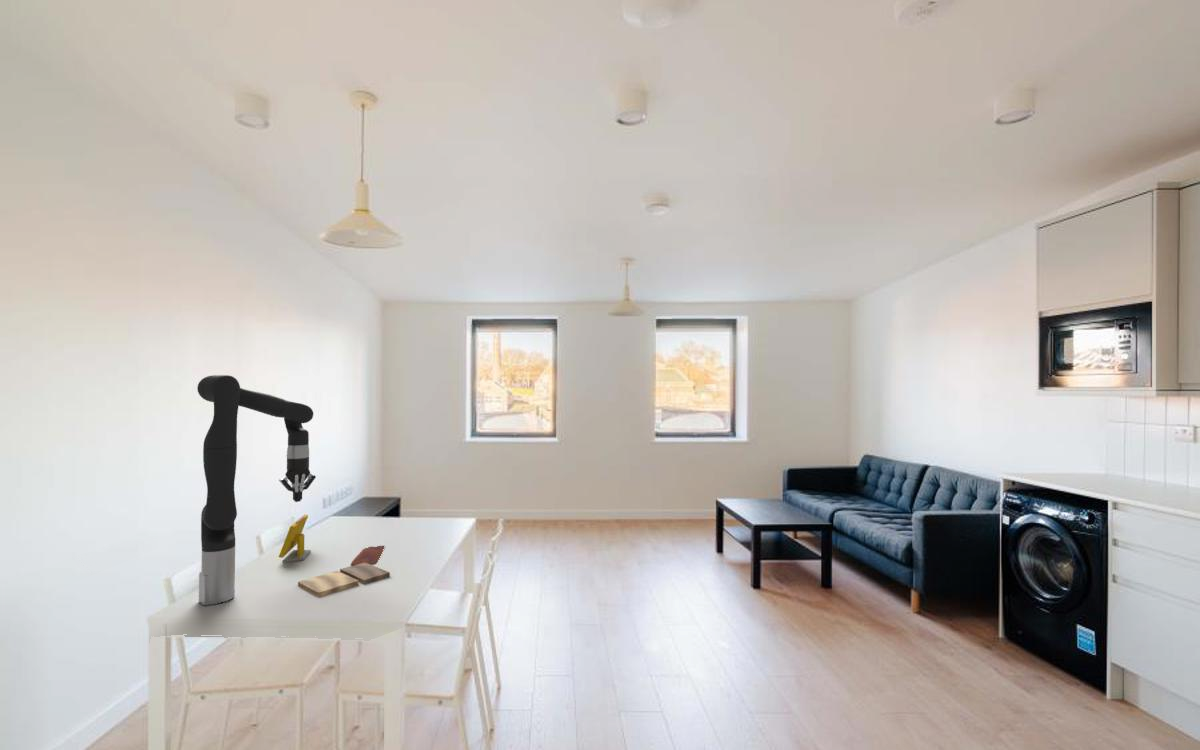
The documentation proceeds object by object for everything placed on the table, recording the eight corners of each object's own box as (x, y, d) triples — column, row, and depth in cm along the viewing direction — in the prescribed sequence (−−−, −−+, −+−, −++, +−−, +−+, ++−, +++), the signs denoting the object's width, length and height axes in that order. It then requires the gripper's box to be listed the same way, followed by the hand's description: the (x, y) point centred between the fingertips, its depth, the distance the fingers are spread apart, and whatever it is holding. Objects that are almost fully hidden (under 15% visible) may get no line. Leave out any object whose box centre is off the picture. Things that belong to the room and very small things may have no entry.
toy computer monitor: (293, 550, 233) (294, 514, 233) (313, 549, 235) (314, 513, 235) (278, 565, 213) (279, 525, 214) (300, 564, 215) (300, 524, 216)
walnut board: (363, 584, 194) (363, 580, 194) (340, 573, 205) (340, 569, 205) (389, 577, 201) (389, 572, 201) (365, 566, 213) (365, 562, 213)
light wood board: (318, 597, 182) (318, 592, 182) (297, 585, 192) (298, 581, 192) (358, 584, 193) (358, 580, 193) (337, 574, 203) (337, 570, 203)
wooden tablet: (376, 566, 214) (376, 562, 214) (349, 568, 212) (349, 564, 212) (388, 546, 241) (388, 543, 241) (364, 548, 239) (364, 544, 239)
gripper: (283, 459, 200) (282, 505, 200) (320, 455, 210) (319, 499, 210) (275, 457, 205) (274, 503, 204) (311, 453, 215) (311, 497, 215)
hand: (297, 501), depth 207 cm, fingers closed
